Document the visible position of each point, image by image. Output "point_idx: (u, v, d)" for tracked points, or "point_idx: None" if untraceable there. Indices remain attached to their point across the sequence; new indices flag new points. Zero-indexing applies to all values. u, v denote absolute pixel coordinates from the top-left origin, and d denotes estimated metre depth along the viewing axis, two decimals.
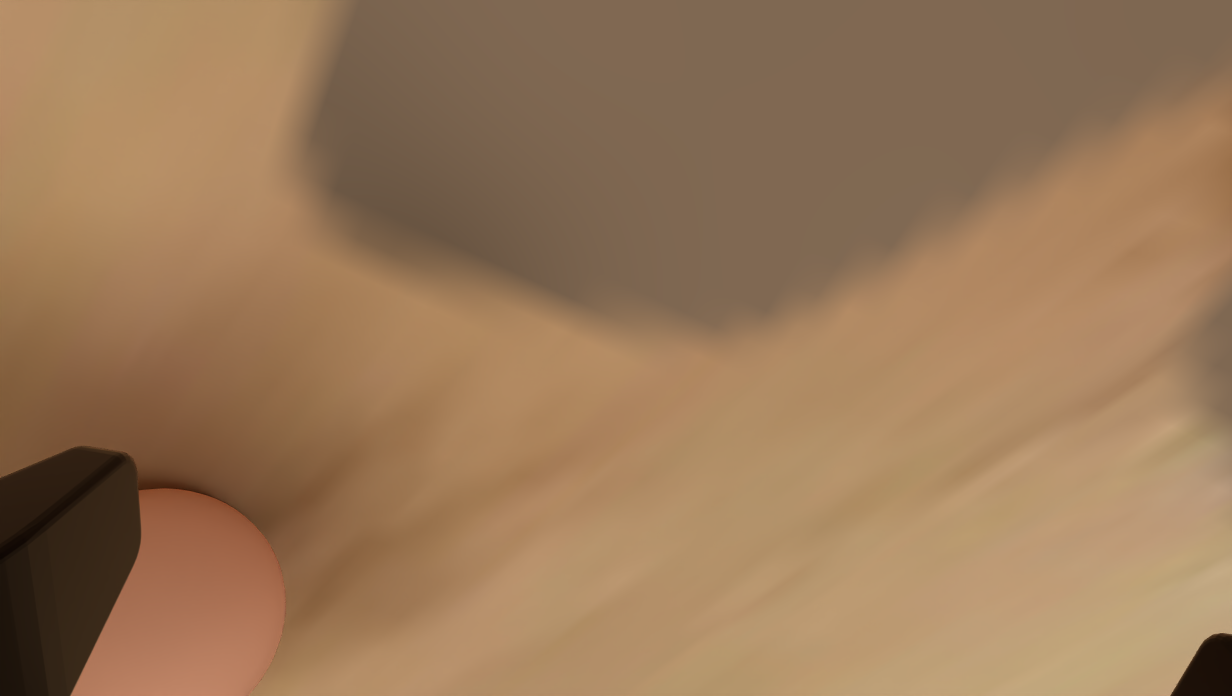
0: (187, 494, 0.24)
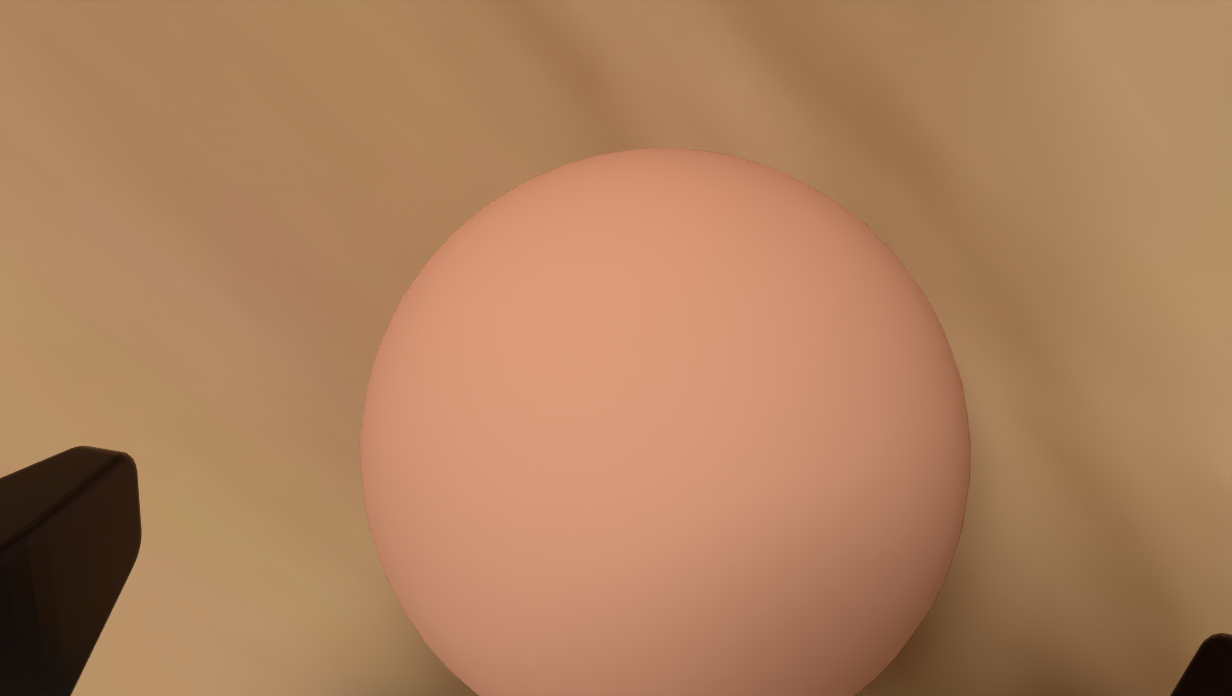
0: None
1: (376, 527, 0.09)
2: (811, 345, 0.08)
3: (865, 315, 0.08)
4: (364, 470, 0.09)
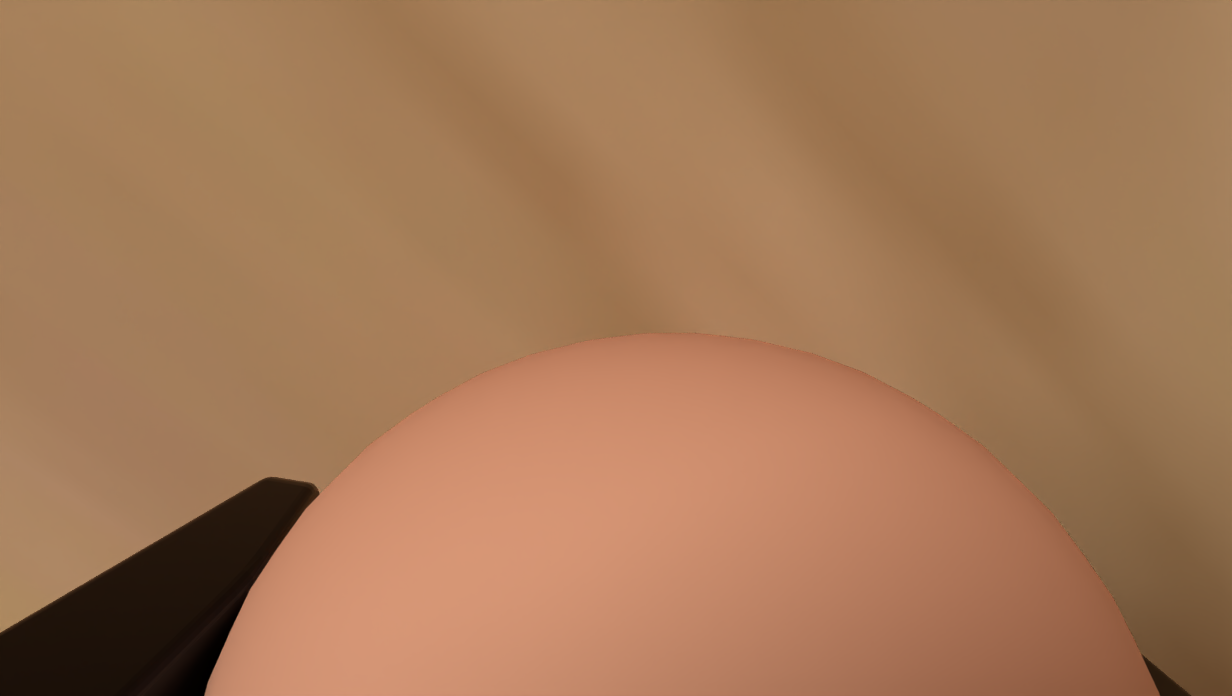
0: None
1: None
2: None
3: None
4: None
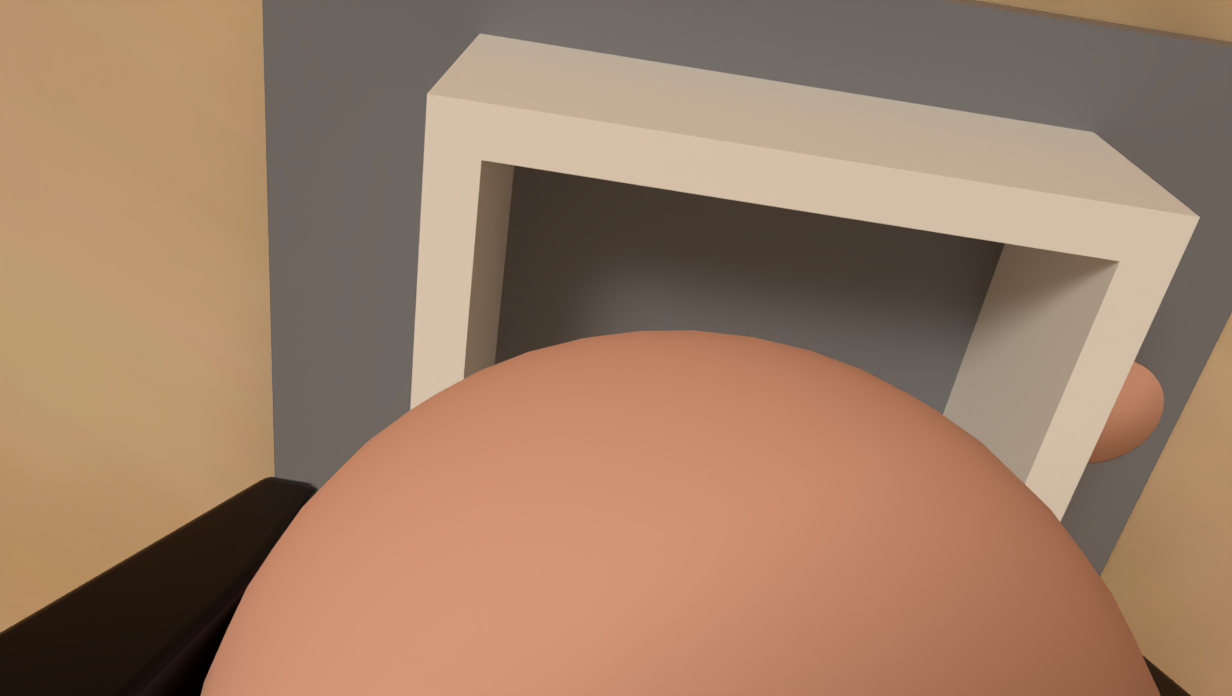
0: None
1: None
2: None
3: None
4: None
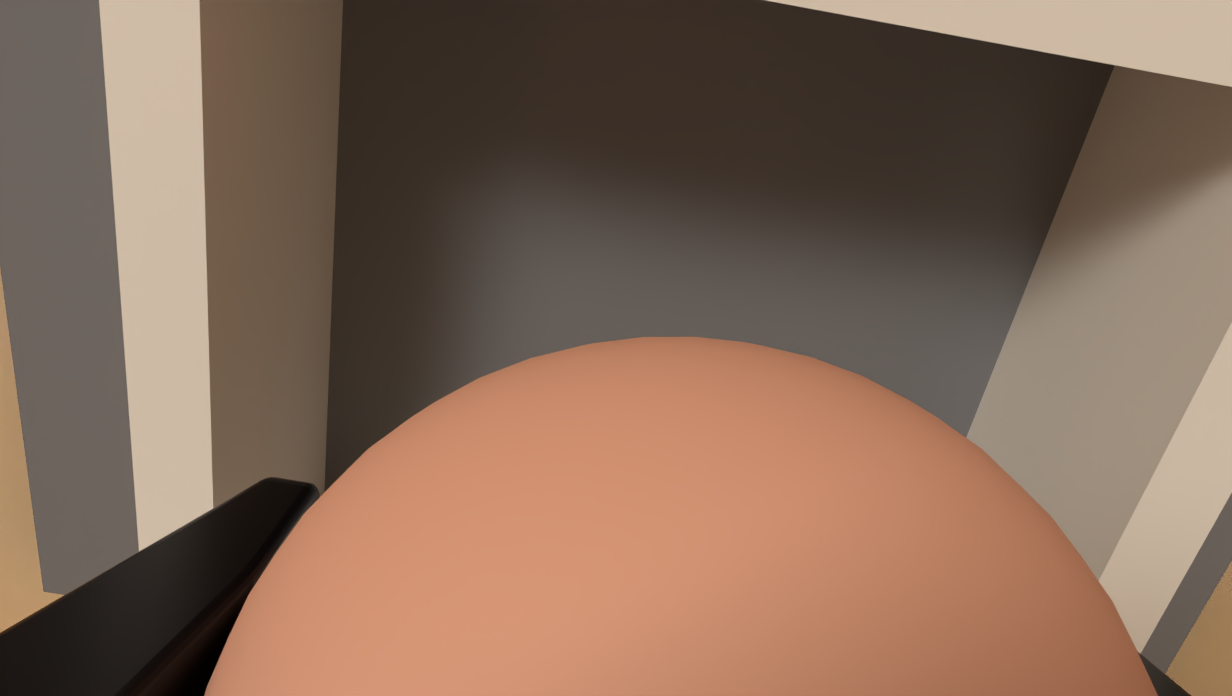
0: None
1: None
2: None
3: None
4: None
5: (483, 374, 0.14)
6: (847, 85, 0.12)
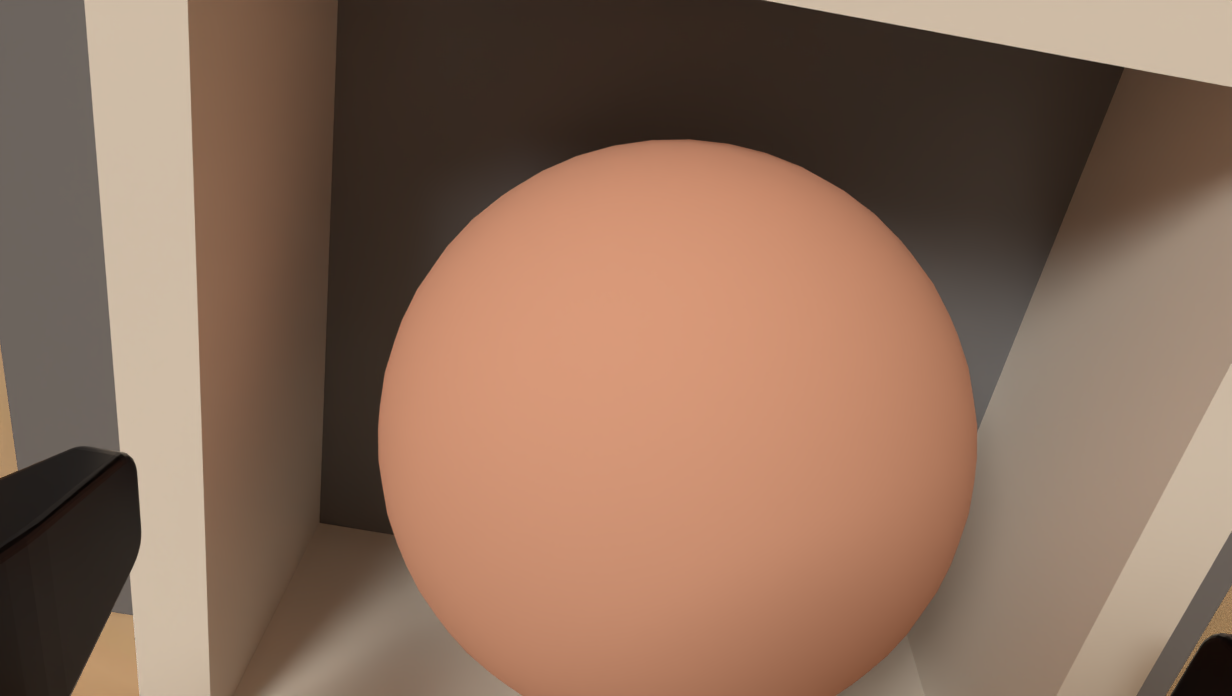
0: None
1: (396, 512, 0.09)
2: (826, 330, 0.08)
3: (877, 301, 0.08)
4: (383, 456, 0.09)
5: None
6: (852, 87, 0.12)
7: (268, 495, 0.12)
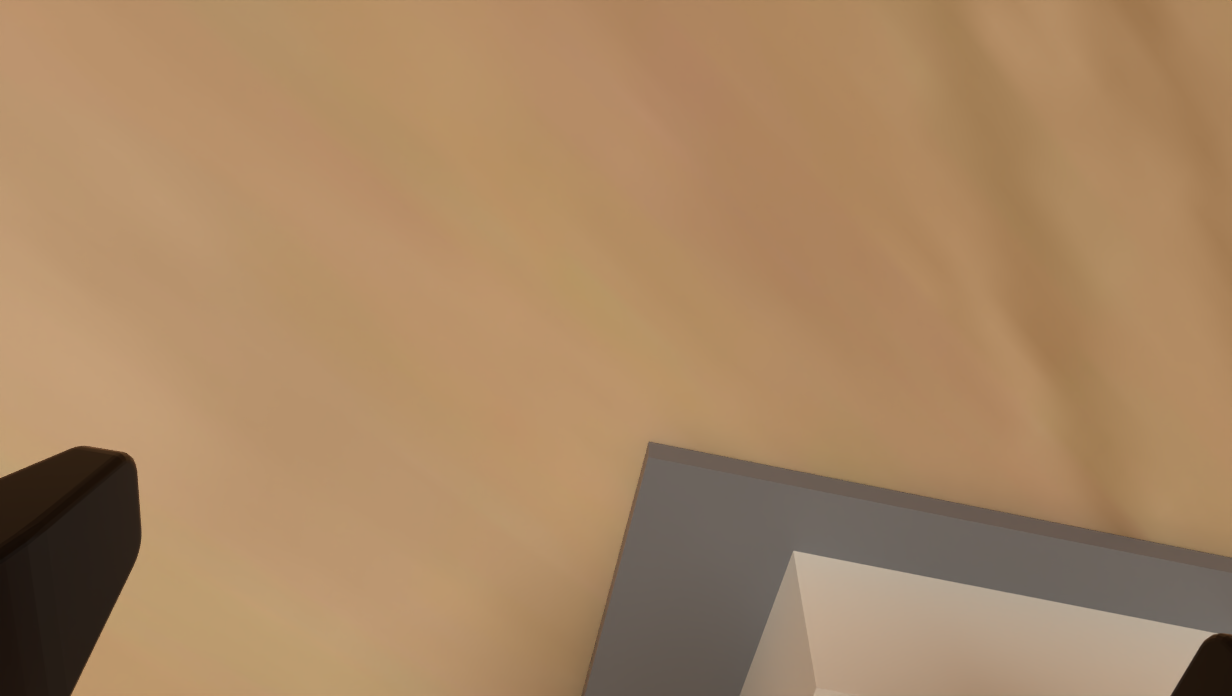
0: None
1: None
2: None
3: None
4: None
5: None
6: None
7: None
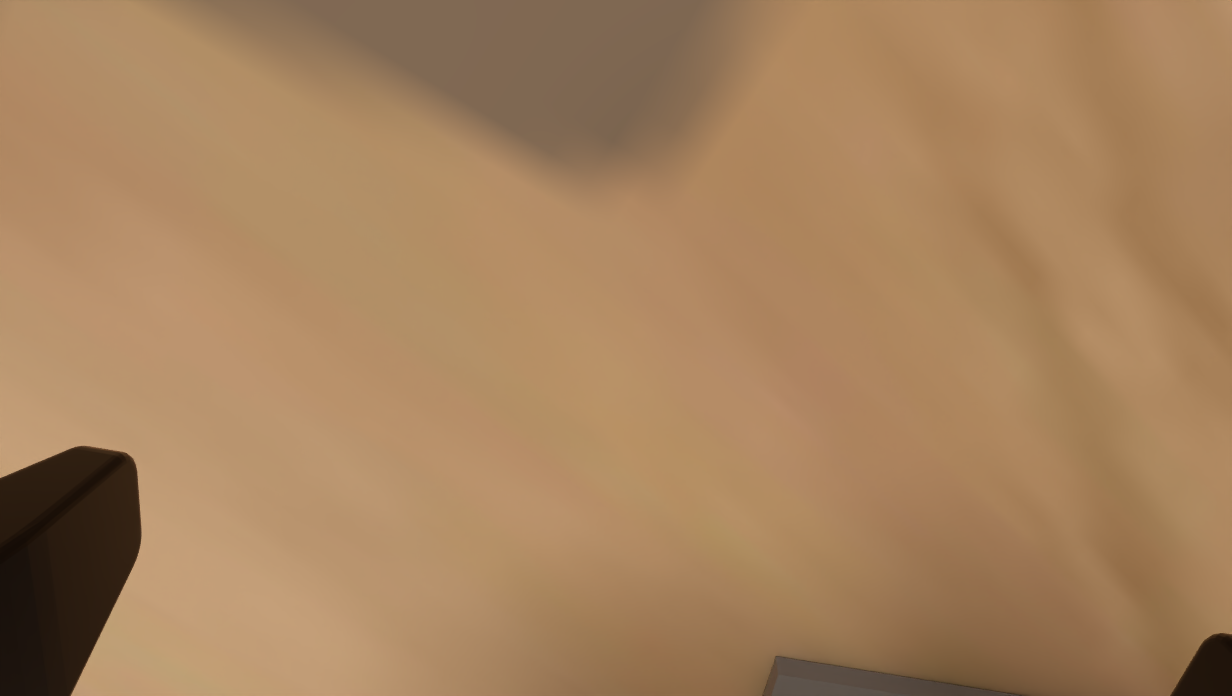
0: None
1: None
2: None
3: None
4: None
5: None
6: None
7: None
